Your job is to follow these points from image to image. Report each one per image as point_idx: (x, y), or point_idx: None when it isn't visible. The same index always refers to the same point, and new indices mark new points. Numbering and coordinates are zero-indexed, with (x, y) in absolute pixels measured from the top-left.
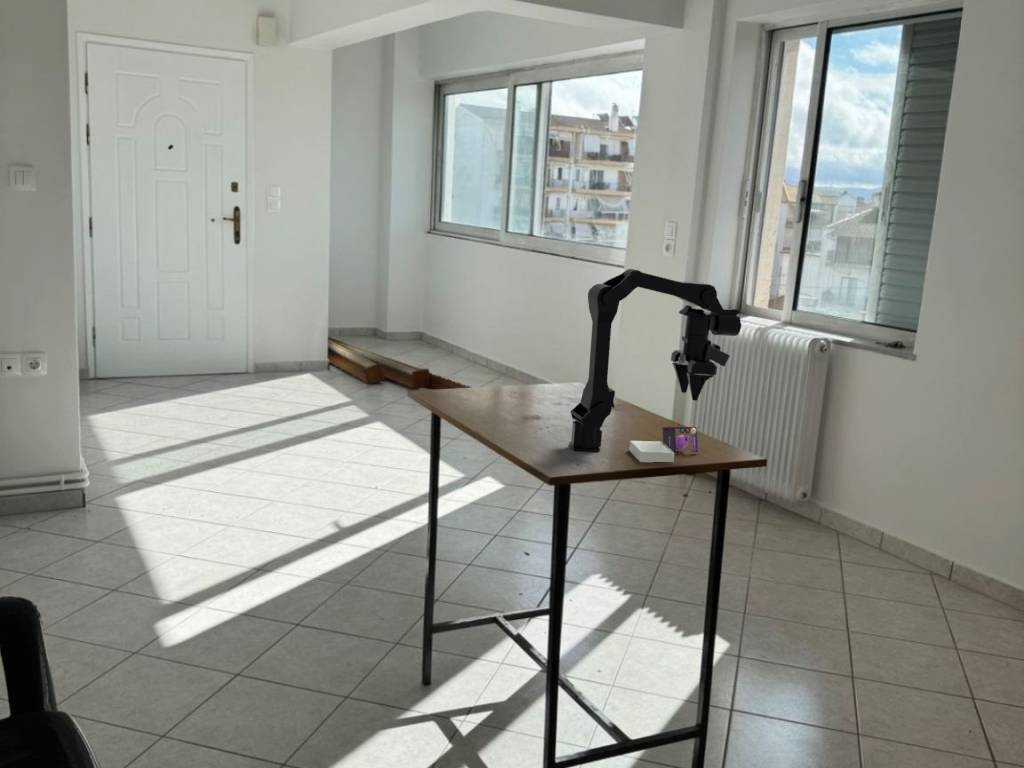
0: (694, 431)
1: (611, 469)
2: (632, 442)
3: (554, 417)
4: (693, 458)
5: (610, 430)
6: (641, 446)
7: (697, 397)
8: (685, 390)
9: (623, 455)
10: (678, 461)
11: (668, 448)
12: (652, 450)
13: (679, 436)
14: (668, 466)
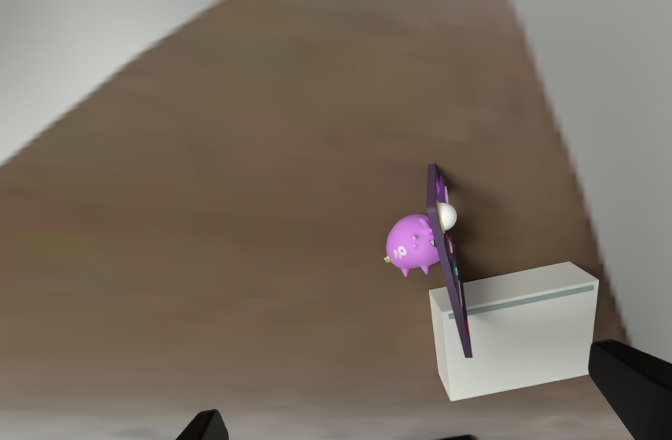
0: (455, 212)
1: None
2: (474, 396)
3: None
4: (499, 186)
5: None
6: (522, 373)
7: (650, 362)
8: (210, 435)
9: None
10: (545, 242)
11: (548, 297)
12: (569, 344)
13: (432, 263)
14: (605, 276)
